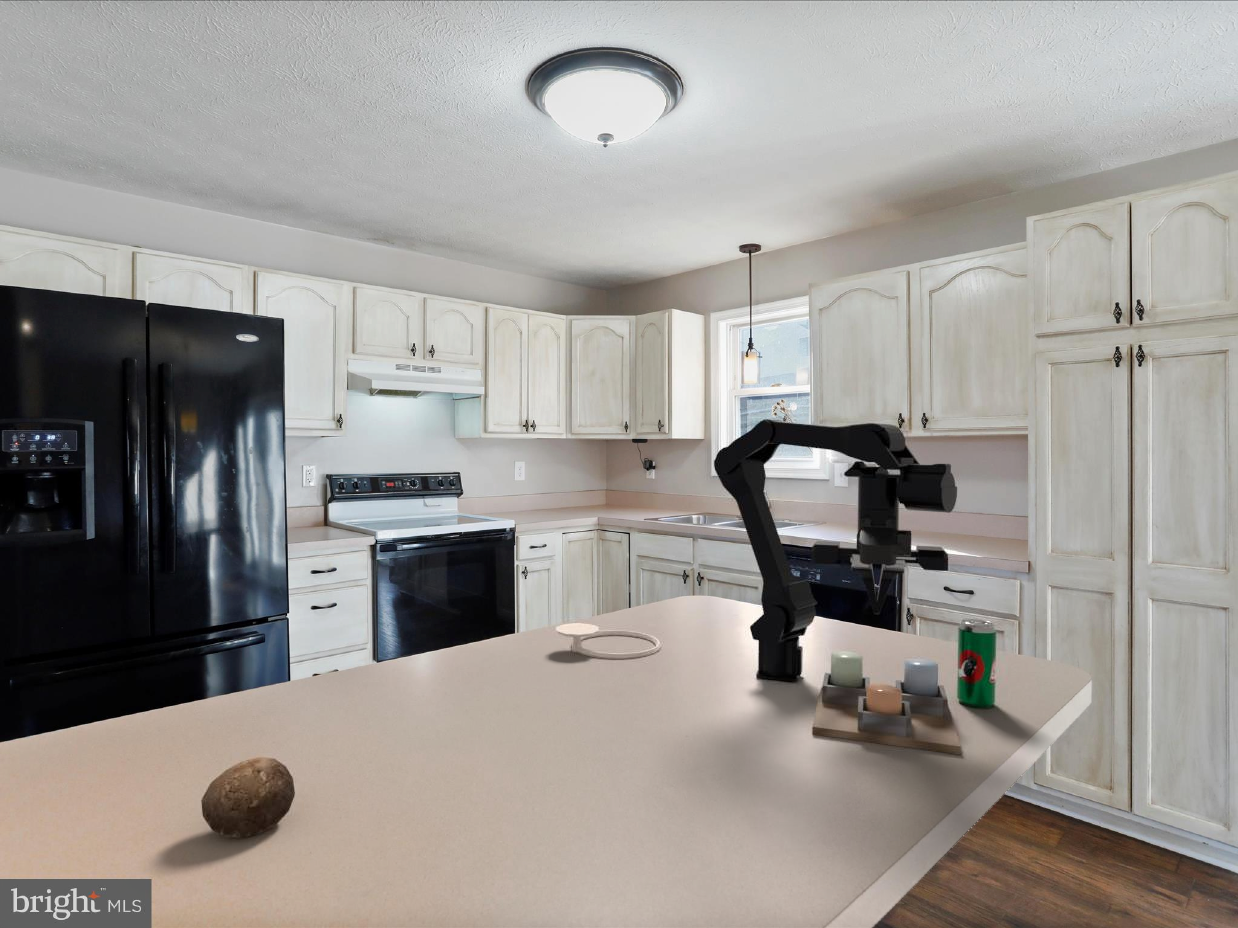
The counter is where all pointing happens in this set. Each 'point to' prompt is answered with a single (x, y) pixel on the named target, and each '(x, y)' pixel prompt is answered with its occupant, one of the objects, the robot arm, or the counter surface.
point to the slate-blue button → (921, 677)
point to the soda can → (976, 663)
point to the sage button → (846, 669)
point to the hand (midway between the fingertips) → (876, 613)
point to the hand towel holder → (588, 631)
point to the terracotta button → (884, 699)
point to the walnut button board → (886, 718)
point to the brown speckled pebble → (248, 797)
